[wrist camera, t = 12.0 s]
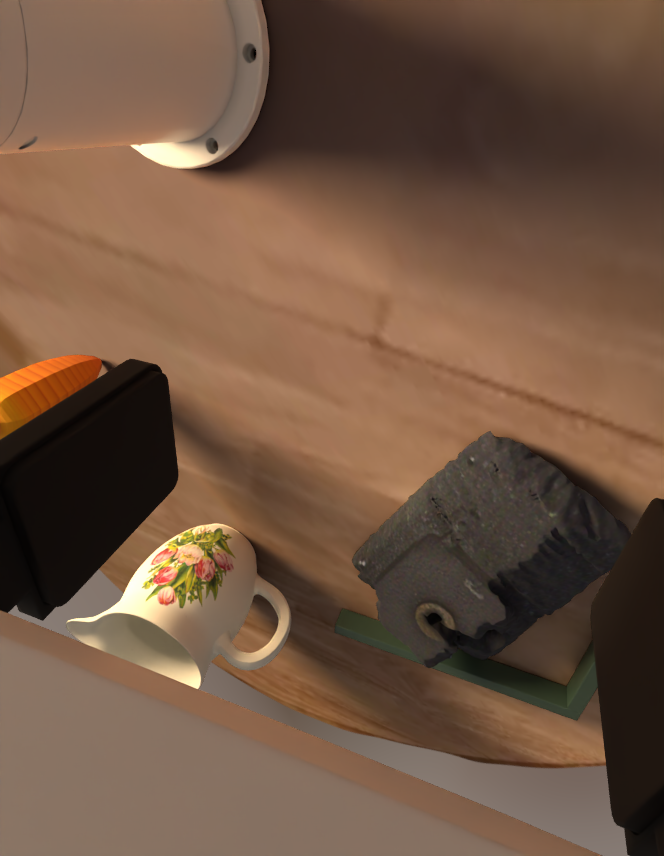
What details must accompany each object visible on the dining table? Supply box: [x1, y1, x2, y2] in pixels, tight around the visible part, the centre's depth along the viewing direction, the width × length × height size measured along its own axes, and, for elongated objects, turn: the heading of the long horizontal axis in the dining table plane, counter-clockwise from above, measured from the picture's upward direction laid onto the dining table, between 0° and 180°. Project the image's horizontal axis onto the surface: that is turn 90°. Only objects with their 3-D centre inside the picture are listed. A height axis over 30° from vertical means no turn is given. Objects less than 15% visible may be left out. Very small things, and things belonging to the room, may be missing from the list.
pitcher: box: [66, 524, 291, 689], centre depth 47 cm, size 11×18×14 cm, turn 84°
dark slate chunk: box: [352, 431, 632, 668], centre depth 40 cm, size 15×22×5 cm
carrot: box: [0, 355, 102, 439], centre depth 40 cm, size 5×5×15 cm
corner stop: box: [335, 609, 598, 721], centre depth 45 cm, size 23×13×2 cm, turn 86°
